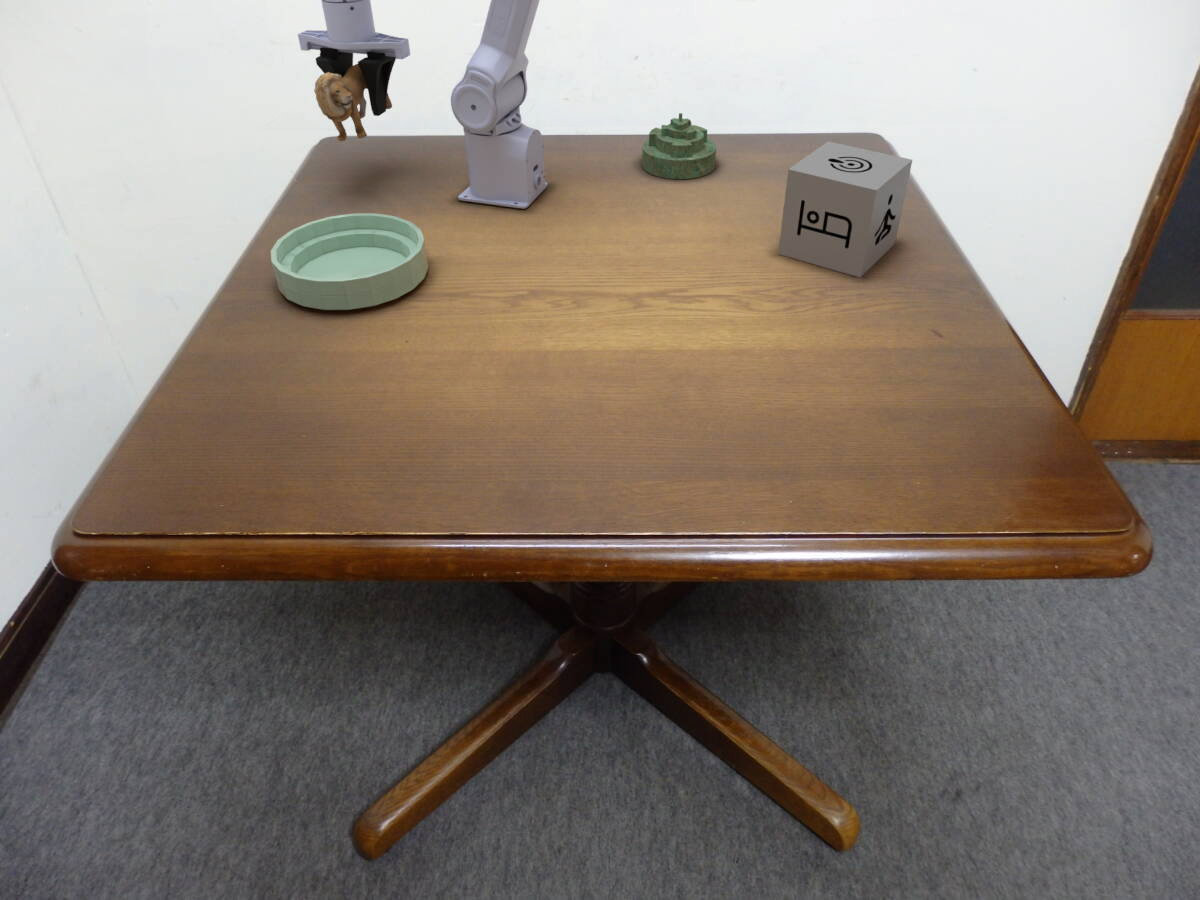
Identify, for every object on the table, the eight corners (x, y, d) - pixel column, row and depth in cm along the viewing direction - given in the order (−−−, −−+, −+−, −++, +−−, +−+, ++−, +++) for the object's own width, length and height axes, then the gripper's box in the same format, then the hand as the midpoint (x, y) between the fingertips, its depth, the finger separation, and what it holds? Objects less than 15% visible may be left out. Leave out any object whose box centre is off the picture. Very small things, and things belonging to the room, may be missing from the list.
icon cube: (778, 253, 104) (788, 169, 98) (816, 222, 111) (828, 141, 104) (860, 277, 100) (876, 190, 94) (895, 243, 106) (912, 159, 100)
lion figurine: (366, 150, 112) (341, 78, 106) (326, 155, 113) (298, 83, 107) (398, 99, 122) (376, 31, 116) (361, 103, 123) (338, 35, 117)
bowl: (452, 255, 105) (448, 223, 103) (383, 325, 93) (376, 290, 91) (330, 237, 109) (323, 205, 107) (249, 301, 97) (239, 267, 95)
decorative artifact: (641, 179, 122) (716, 179, 121) (642, 126, 117) (720, 126, 117) (642, 151, 130) (712, 151, 129) (643, 101, 125) (716, 101, 125)
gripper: (415, -7, 111) (429, 106, 119) (312, -14, 114) (333, 96, 123) (386, 7, 105) (403, 125, 114) (279, -1, 109) (304, 113, 118)
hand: (365, 111), depth 118 cm, fingers closed on lion figurine, 4 cm apart
